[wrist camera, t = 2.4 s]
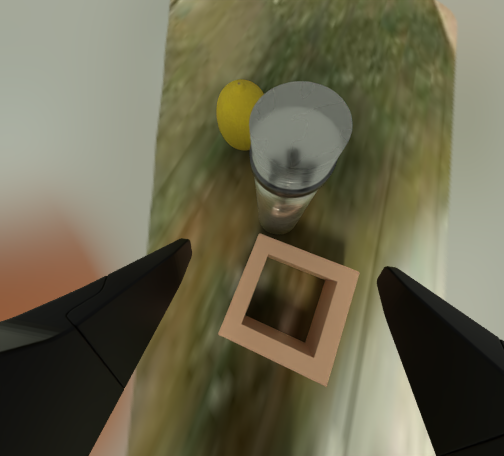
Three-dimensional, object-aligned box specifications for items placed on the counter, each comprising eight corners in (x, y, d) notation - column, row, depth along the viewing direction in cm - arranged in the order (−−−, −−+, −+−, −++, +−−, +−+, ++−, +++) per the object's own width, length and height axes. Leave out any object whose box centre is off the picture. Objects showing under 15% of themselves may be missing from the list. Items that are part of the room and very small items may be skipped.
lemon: (272, 159, 24) (276, 103, 16) (228, 166, 24) (210, 115, 16) (264, 121, 25) (264, 53, 17) (222, 129, 25) (204, 64, 17)
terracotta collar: (315, 365, 18) (326, 386, 15) (226, 323, 20) (218, 334, 16) (343, 272, 20) (359, 272, 17) (260, 239, 21) (259, 233, 18)
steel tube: (290, 242, 21) (337, 186, 8) (251, 227, 22) (228, 150, 8) (304, 204, 22) (369, 93, 8) (266, 191, 23) (268, 68, 9)
